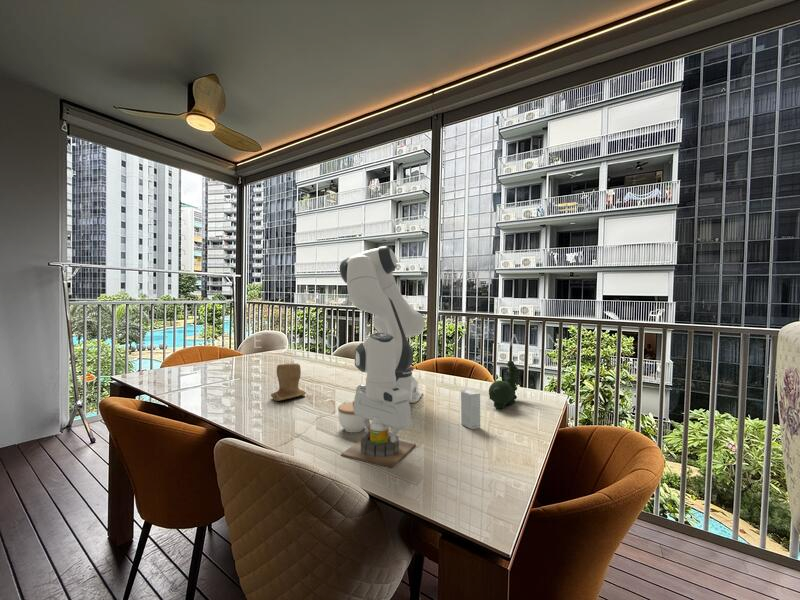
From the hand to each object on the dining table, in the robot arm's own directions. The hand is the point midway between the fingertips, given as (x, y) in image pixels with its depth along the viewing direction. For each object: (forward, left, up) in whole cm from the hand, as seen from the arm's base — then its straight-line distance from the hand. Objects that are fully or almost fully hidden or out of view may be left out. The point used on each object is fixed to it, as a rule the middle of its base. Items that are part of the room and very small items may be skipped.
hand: (380, 436), depth 109 cm
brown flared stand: (-29, -62, -4) cm, 69 cm away
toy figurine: (-65, +24, -4) cm, 69 cm away
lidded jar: (-11, -16, -4) cm, 20 cm away
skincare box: (-33, +18, -4) cm, 38 cm away
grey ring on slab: (0, 0, -4) cm, 4 cm away
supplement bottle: (+1, 0, -4) cm, 4 cm away
